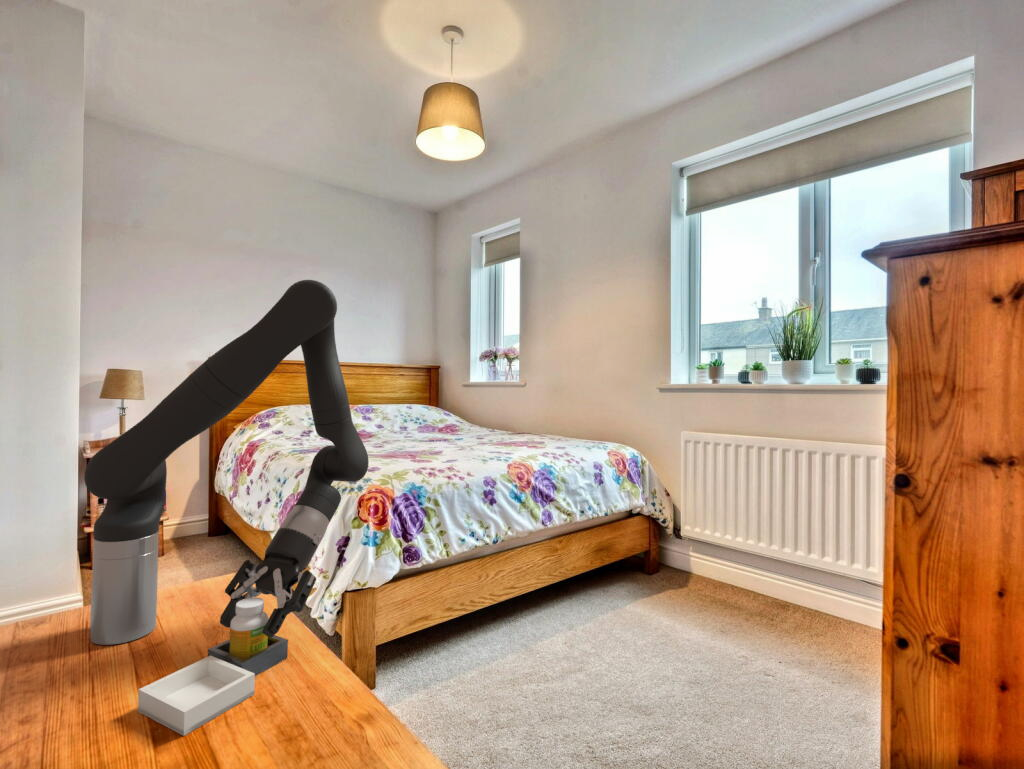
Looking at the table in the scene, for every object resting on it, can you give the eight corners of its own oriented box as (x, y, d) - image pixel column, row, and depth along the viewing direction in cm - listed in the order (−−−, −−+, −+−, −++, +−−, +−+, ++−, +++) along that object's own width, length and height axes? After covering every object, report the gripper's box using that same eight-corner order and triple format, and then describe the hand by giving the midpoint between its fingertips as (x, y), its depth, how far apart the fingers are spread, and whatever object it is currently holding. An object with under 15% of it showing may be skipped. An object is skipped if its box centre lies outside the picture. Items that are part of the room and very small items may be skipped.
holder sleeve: (207, 668, 81) (207, 649, 81) (253, 645, 88) (254, 627, 88) (242, 683, 77) (242, 663, 77) (287, 658, 84) (287, 639, 84)
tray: (138, 711, 70) (138, 689, 70) (209, 675, 79) (210, 655, 79) (183, 736, 65) (184, 712, 65) (254, 694, 74) (254, 673, 74)
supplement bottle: (251, 675, 79) (253, 611, 79) (220, 670, 80) (222, 607, 80) (274, 657, 85) (276, 597, 85) (245, 652, 86) (247, 593, 86)
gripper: (255, 521, 92) (196, 613, 81) (322, 531, 88) (269, 629, 77) (277, 543, 97) (223, 631, 86) (341, 553, 93) (293, 647, 82)
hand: (245, 630), depth 82 cm, fingers open, 8 cm apart
